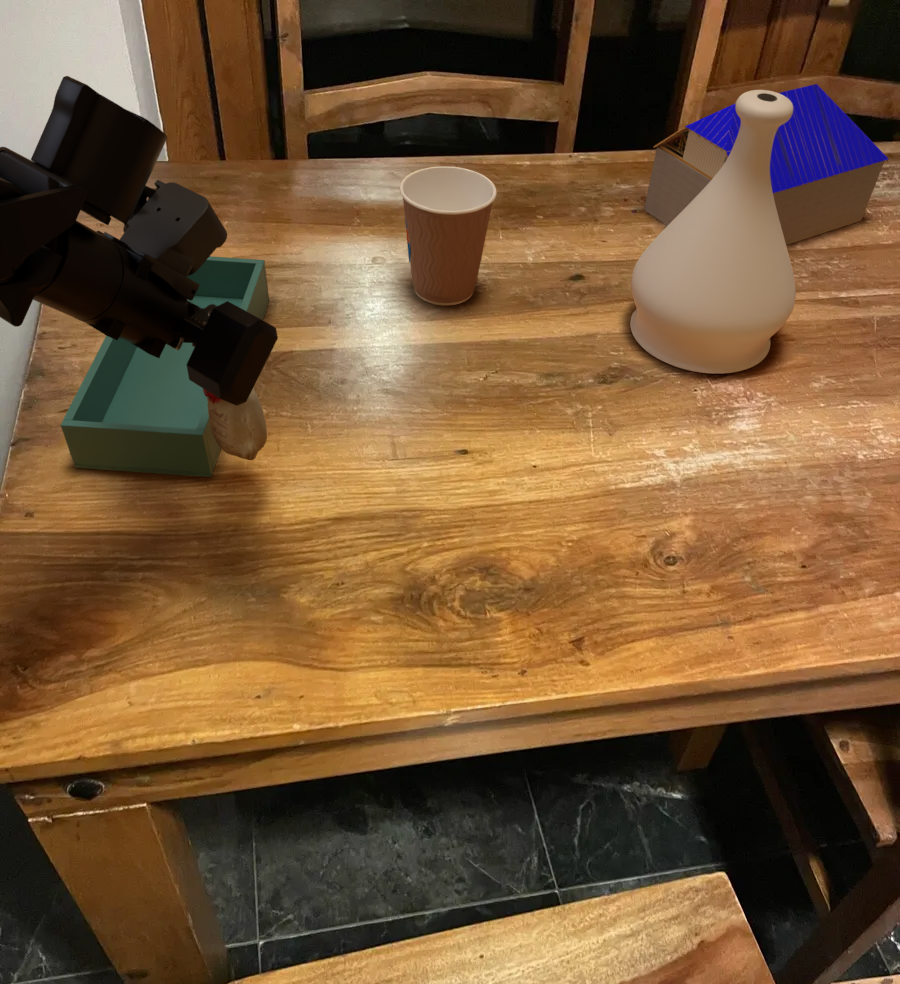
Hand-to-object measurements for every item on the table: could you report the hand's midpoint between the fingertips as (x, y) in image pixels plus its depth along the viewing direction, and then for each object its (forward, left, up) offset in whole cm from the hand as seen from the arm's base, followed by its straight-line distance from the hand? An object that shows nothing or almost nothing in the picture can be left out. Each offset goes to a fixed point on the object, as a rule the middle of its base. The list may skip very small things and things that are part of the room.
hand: (234, 349), depth 76 cm
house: (+67, +41, -13) cm, 80 cm away
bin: (-6, +16, -13) cm, 21 cm away
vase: (+50, +16, -13) cm, 55 cm away
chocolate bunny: (-1, -2, -7) cm, 7 cm away
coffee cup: (+23, +28, -13) cm, 39 cm away
